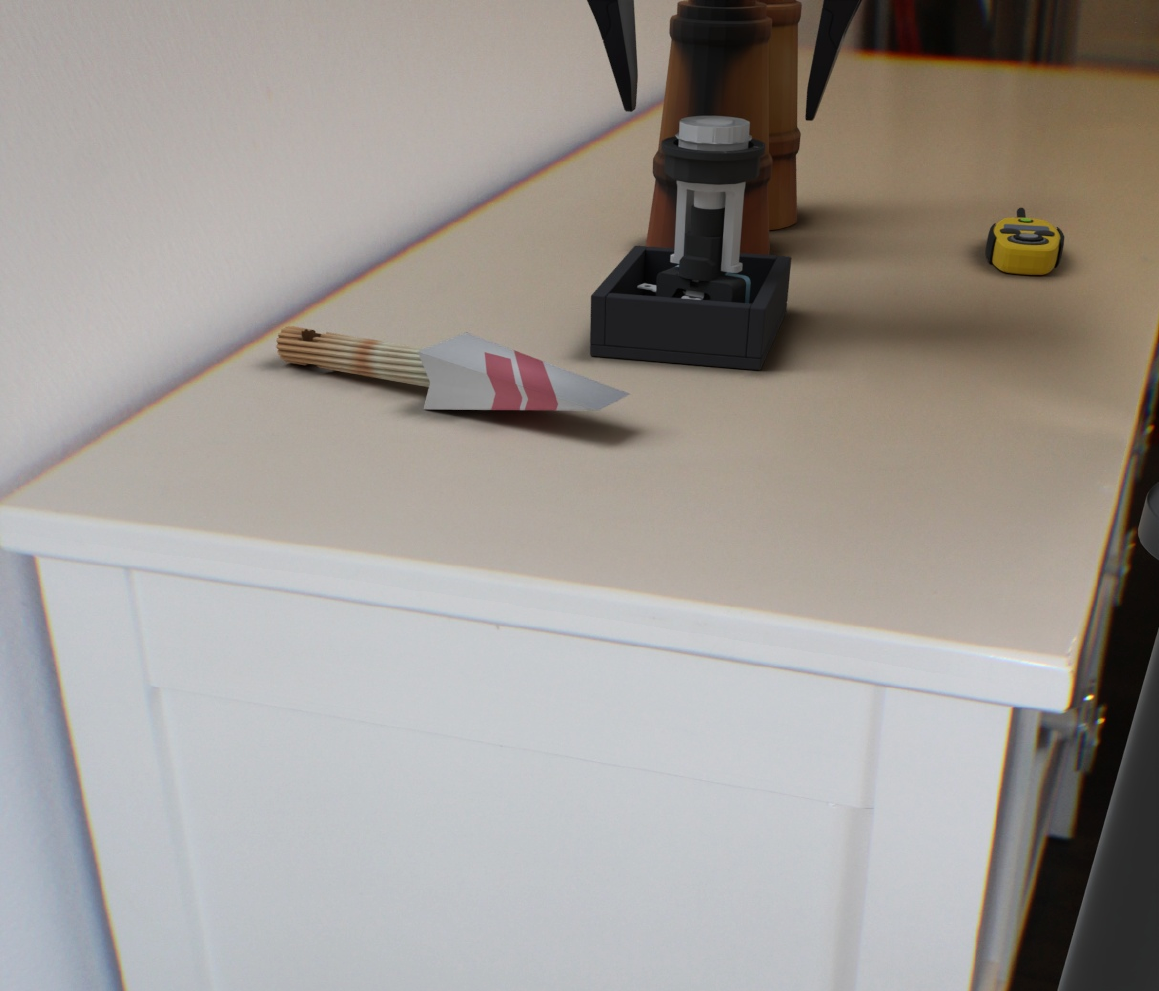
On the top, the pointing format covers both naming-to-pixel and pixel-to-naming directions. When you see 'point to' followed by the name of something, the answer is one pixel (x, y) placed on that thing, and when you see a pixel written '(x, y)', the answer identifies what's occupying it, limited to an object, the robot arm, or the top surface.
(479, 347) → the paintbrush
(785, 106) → the binoculars
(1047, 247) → the yellow walkie talkie
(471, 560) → the top surface
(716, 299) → the push button
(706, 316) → the black hollow square tray
